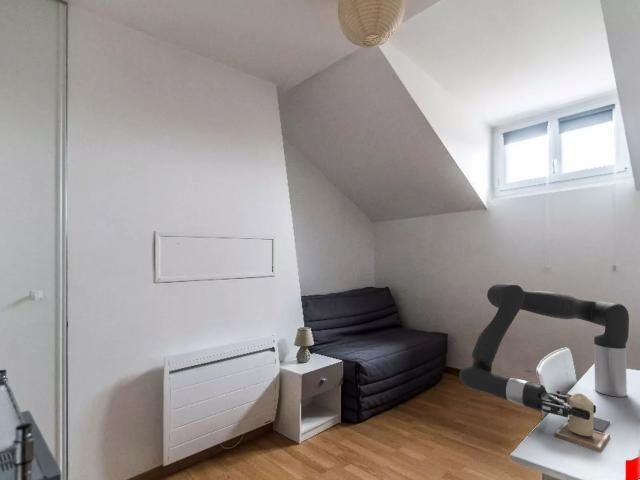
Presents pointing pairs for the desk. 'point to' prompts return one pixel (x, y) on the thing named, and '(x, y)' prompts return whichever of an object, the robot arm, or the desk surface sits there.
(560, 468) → the desk surface
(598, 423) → the pad
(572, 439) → the board
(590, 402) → the candle
